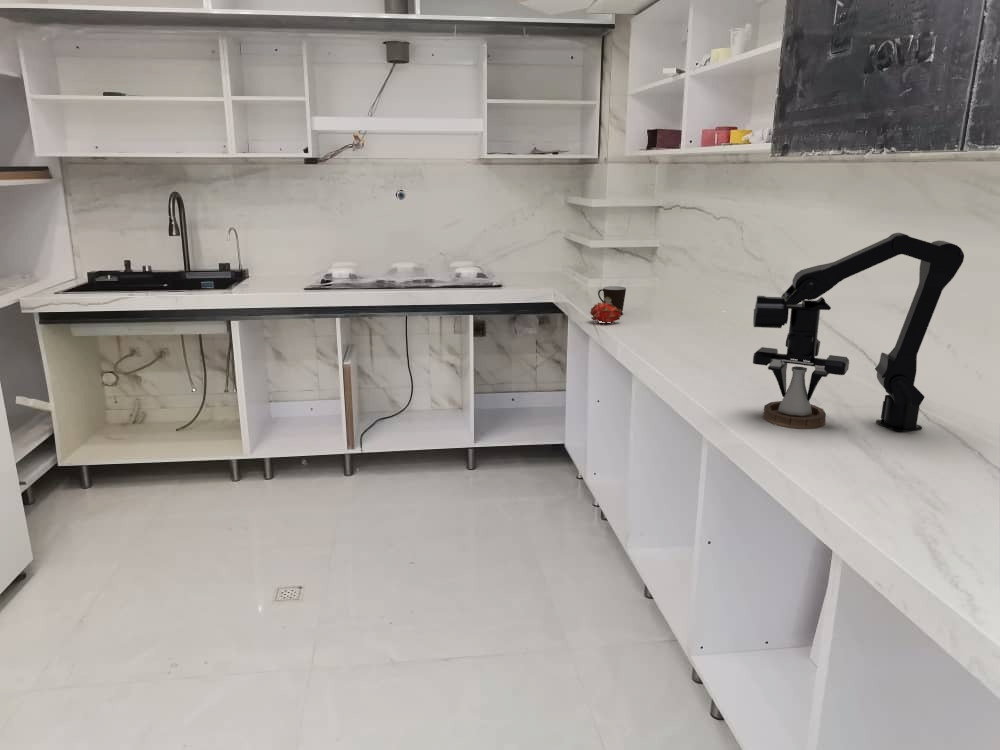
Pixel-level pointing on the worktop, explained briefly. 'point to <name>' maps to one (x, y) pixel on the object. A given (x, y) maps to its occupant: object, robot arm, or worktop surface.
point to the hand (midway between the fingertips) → (796, 398)
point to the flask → (796, 395)
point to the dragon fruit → (605, 312)
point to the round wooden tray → (794, 417)
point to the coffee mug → (614, 296)
